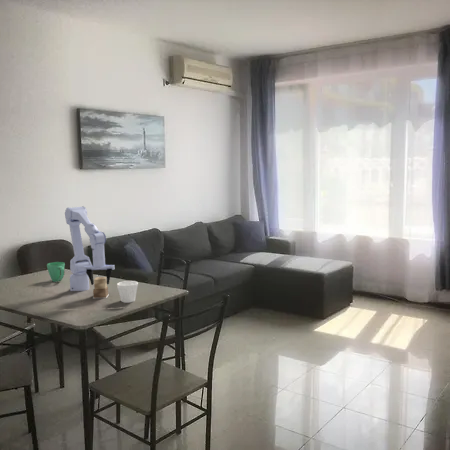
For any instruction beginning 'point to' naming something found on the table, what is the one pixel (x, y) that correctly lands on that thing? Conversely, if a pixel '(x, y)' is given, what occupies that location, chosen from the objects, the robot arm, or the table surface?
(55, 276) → the mug
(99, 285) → the oak cube
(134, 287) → the cup
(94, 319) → the table surface
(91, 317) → the table surface
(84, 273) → the robot arm
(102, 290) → the walnut block
